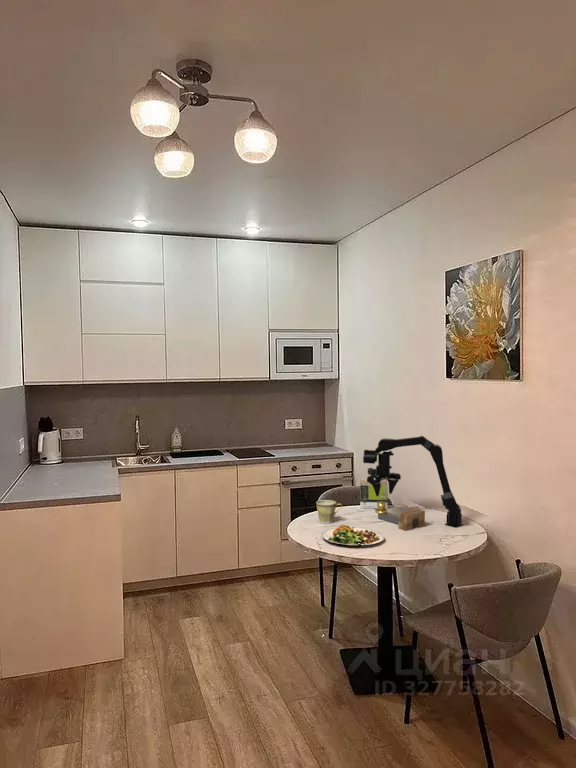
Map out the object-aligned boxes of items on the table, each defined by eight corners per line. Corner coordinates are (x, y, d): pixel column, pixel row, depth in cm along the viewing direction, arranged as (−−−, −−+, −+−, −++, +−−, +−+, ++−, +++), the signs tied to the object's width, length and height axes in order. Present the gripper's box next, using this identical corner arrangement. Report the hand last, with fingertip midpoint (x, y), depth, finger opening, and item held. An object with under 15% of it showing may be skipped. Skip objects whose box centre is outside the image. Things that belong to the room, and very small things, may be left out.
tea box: (387, 505, 319) (387, 478, 319) (387, 509, 309) (388, 482, 309) (360, 504, 321) (360, 478, 321) (359, 508, 311) (360, 481, 311)
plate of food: (338, 552, 236) (339, 538, 236) (311, 534, 262) (311, 520, 262) (396, 547, 247) (397, 533, 247) (364, 529, 272) (365, 517, 272)
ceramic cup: (316, 525, 277) (316, 504, 277) (315, 519, 287) (315, 500, 287) (343, 524, 278) (343, 504, 278) (340, 519, 288) (340, 499, 288)
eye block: (424, 526, 275) (424, 511, 275) (406, 530, 268) (406, 515, 268) (416, 524, 279) (416, 509, 279) (398, 528, 272) (398, 512, 272)
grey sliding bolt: (408, 523, 279) (408, 507, 279) (399, 525, 276) (399, 509, 275) (381, 515, 294) (381, 500, 294) (372, 517, 290) (372, 502, 290)
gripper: (385, 460, 297) (385, 489, 297) (359, 463, 286) (359, 494, 286) (401, 463, 288) (401, 493, 288) (375, 466, 277) (375, 498, 277)
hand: (383, 494), depth 285 cm, fingers open, 9 cm apart
